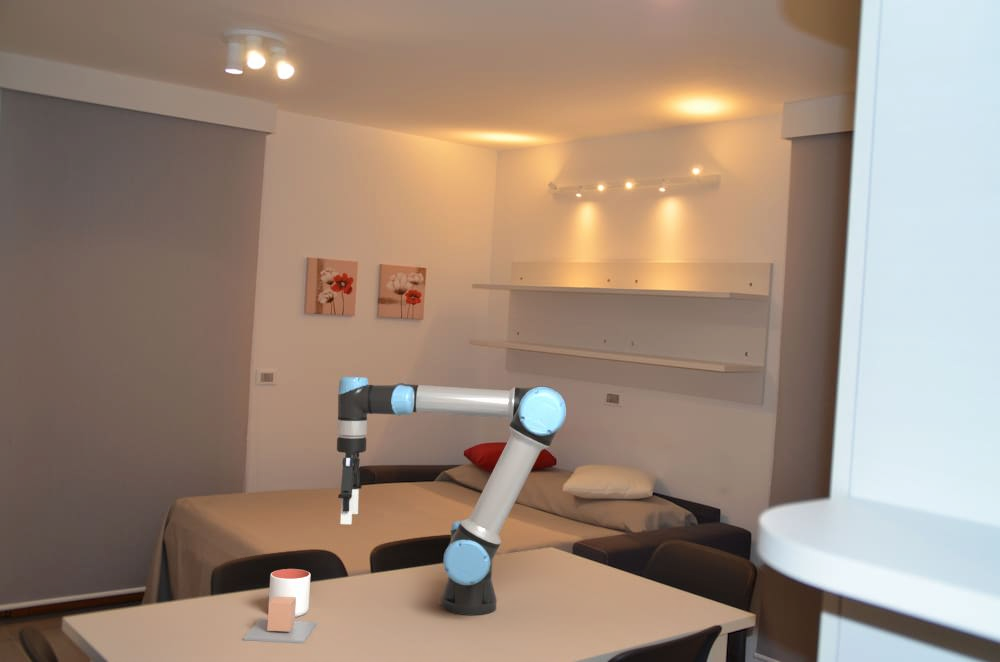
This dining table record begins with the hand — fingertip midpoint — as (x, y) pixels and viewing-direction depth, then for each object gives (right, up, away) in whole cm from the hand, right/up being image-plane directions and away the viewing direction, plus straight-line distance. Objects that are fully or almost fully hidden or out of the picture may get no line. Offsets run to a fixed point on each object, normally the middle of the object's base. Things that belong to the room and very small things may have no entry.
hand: (349, 518), depth 224 cm
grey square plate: (-13, -23, -17) cm, 32 cm away
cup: (-15, -24, -2) cm, 28 cm away
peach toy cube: (-14, -22, -17) cm, 31 cm away
